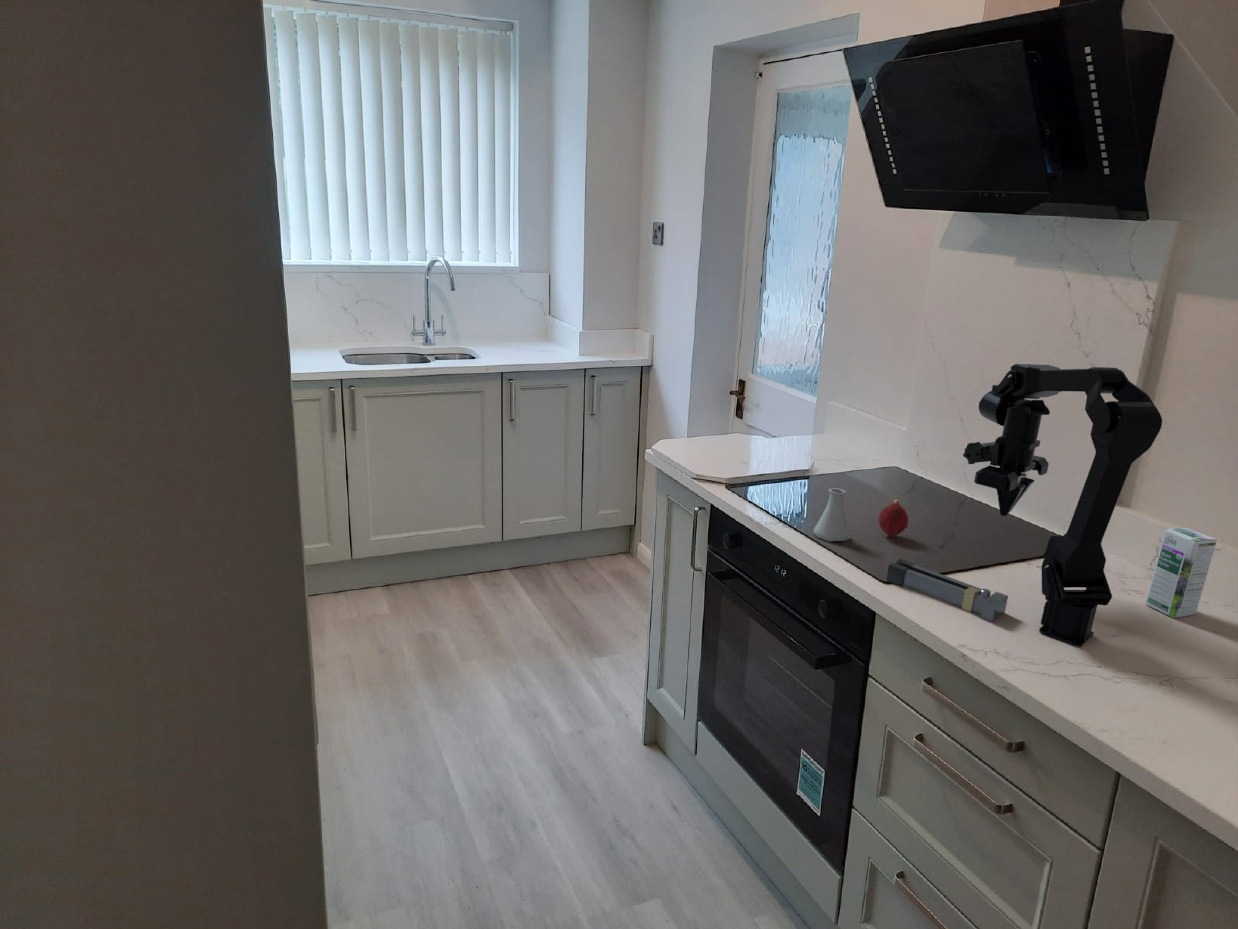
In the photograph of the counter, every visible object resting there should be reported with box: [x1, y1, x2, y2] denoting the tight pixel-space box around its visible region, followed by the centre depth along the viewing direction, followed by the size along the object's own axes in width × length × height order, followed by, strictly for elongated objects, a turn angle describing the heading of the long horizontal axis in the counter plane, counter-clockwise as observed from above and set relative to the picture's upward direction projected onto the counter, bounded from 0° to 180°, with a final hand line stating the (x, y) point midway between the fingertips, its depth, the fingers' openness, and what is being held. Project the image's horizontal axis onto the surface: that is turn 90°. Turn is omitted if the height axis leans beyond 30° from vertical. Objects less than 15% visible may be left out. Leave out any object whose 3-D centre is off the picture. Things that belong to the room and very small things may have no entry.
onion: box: [878, 499, 909, 538], centre depth 175 cm, size 6×6×8 cm
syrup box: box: [1145, 527, 1218, 619], centre depth 147 cm, size 6×6×14 cm
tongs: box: [885, 562, 1009, 623], centre depth 149 cm, size 20×5×4 cm, turn 45°
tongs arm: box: [895, 558, 992, 597], centre depth 151 cm, size 17×2×3 cm, turn 43°
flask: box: [812, 487, 851, 542], centre depth 173 cm, size 7×7×10 cm
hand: (1003, 515), depth 157 cm, fingers closed
